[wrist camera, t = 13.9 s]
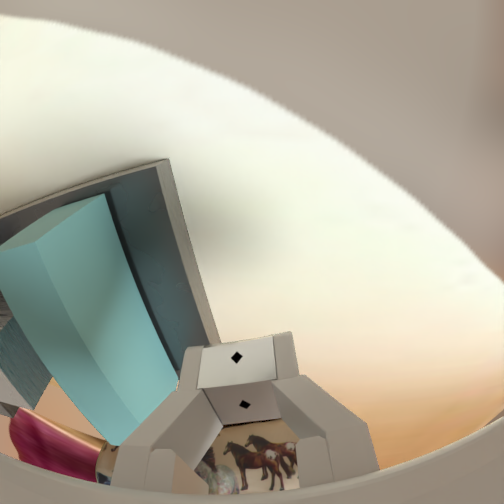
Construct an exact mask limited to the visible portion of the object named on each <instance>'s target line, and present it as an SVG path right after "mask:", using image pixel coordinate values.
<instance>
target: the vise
mask: <svg viewBox="0 0 504 504" xmlns="http://www.w3.org/2000/svg"><path fill="white" fill-rule="evenodd" d="M101 194H105V197H106V201H107V204H108V207H109V210H110V213H111V217H112V220H113V223H114V226H115V229H116V232H117V235H118V238H119V240H120V243H121V246H122V249H123V252H124V254H125V257H126V260H127V263H128V265H129V268H130V271H131V273H132V276H133V278H134V281H135V283H136V286H137V288H138V291H139V293H140V296H141V298H142V301H143V303H144V305H145V308H146V310H147V312H148V315H149V317H150V319H151V321H152V324H153V326H154V328H155V330H156V333H157V335H158V337H159V339H160V341H161V343H162V346H163V348H164V350H165V352H166V354H167V356H168V358H169V360H170V362H171V364H172V366H173V368H174V370H175V372H176V374H177V376H178V380H179V379H180V374H181V369H182V364H183V359H184V354H185V351H186V349H187V348H188V347H194V346H204V345H210V344H219V343H221V340H220V337H219V334H218V331H217V328H216V325H215V322H214V319H213V316H212V312H211V309H210V306H209V303H208V300H207V296H206V293H205V290H204V286H203V283H202V280H201V276H200V273H199V270H198V266H197V263H196V259H195V256H194V252H193V249H192V245H191V242H190V238H189V235H188V231H187V227H186V224H185V220H184V216H183V212H182V209H181V205H180V201H179V197H178V193H177V189H176V185H175V181H174V177H173V173H172V169H171V165H170V161H169V159H165V160H161V161H157V162H154V163H150V164H146V165H142V166H139V167H135V168H132V169H128V170H125V171H121V172H118V173H115V174H111V175H108V176H105V177H102V178H98V179H95V180H92V181H89V182H86V183H83V184H80V185H77V186H74V187H71V188H69V189H66V190H63V191H60V192H57V193H55V194H52V195H49V196H47V197H44V198H42V199H39V200H36V201H34V202H31V203H29V204H26V205H24V206H21V207H19V208H17V209H14V210H12V211H10V212H7V213H5V214H3V215H0V246H1V245H2V244H3V243H5V242H6V241H7V240H9V239H10V238H12V237H13V236H14V235H16V234H17V233H19V232H20V231H22V230H23V229H25V228H26V227H28V226H29V225H31V224H32V223H34V222H35V221H37V220H38V219H40V218H41V217H43V216H44V215H46V214H47V213H49V212H51V211H52V210H54V209H56V208H59V207H62V206H65V205H68V204H71V203H74V202H78V201H81V200H84V199H87V198H91V197H94V196H97V195H101ZM52 377H53V376H52ZM18 408H19V407H18V406H15V405H11V404H7V403H4V402H0V414H2V415H5V416H8V417H11V418H13V417H14V416H15V414H16V412H17V410H18Z"/></svg>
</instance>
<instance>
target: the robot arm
mask: <svg viewBox="0 0 504 504" xmlns="http://www.w3.org/2000/svg"><path fill="white" fill-rule="evenodd" d="M278 418H282V420H283V421H284V422H285V423H286V424H287V425H288V427H289V428H290V429H291V430H292V431H293V432H294V433H295V434H296V435H297V437H298V438H299V439H300V440H299V441H298V443H297V444H296V455H297V465H298V475H299V486H300V488H297V489H290V490H282V491H273V492H263V493H249V494H227V495H208V492H209V485H208V484H207V483H206V482H205V481H204V480H203V479H202V478H201V477H199V476H198V475H197V474H196V473H195V472H194V469H195V468H196V466H197V465H198V464H199V462H200V461H201V459H202V458H203V456H204V455H205V453H206V452H207V450H208V449H209V447H210V446H211V444H212V443H213V441H214V440H215V438H216V437H217V435H218V434H219V432H220V431H221V429H222V428H223V425H226V424H235V423H243V422H251V421H261V420H270V419H278ZM0 504H504V416H503V417H501V418H500V419H498V420H496V421H494V422H493V423H491V424H489V425H487V426H485V427H484V428H482V429H480V430H478V431H476V432H474V433H472V434H470V435H468V436H466V437H464V438H462V439H460V440H458V441H456V442H454V443H451V444H449V445H447V446H445V447H442V448H440V449H438V450H435V451H433V452H430V453H428V454H425V455H423V456H420V457H418V458H415V459H412V460H410V461H407V462H404V463H401V464H398V465H395V466H392V467H389V468H386V469H382V470H380V469H379V465H378V461H377V458H376V454H375V451H374V447H373V444H372V440H371V437H370V433H369V430H368V426H367V423H365V422H364V421H363V420H361V419H360V418H359V417H357V416H356V415H355V414H354V413H352V412H351V411H350V410H348V409H347V408H346V407H345V406H343V405H342V404H341V403H339V402H338V401H337V400H336V399H334V398H333V397H332V396H331V395H329V394H328V393H327V392H326V391H324V390H323V389H322V388H321V387H320V386H318V385H317V384H316V383H315V382H313V381H312V380H311V379H310V378H309V377H307V376H306V375H299V370H298V364H297V358H296V353H295V347H294V342H293V336H292V332H291V331H289V332H284V333H279V334H274V335H270V336H264V337H259V338H253V339H247V340H241V341H235V342H227V343H219V344H210V345H204V346H194V347H188V348H187V349H186V351H185V354H184V359H183V364H182V369H181V374H180V379H179V385H178V390H177V391H172V392H171V393H170V394H169V395H168V397H167V398H166V399H165V400H164V401H163V402H162V403H161V404H160V405H159V406H158V407H157V408H156V409H155V410H154V411H153V412H152V413H151V414H150V415H149V416H148V417H147V418H146V419H145V420H144V421H143V422H142V423H141V424H140V425H139V426H138V427H137V428H136V429H135V430H134V431H133V432H132V433H131V434H130V435H129V436H128V437H127V438H126V439H125V440H124V441H123V442H122V443H121V444H120V447H119V451H118V455H117V459H116V463H115V467H114V471H113V475H112V479H111V484H110V485H105V484H100V483H95V482H90V481H86V480H81V479H77V478H73V477H70V476H66V475H62V474H59V473H55V472H52V471H49V470H46V469H42V468H39V467H36V466H33V465H31V464H28V463H25V462H22V461H20V460H17V459H14V458H12V457H9V456H7V455H5V454H2V453H0Z"/></svg>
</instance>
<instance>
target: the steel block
mask: <svg viewBox="0 0 504 504" xmlns="http://www.w3.org/2000/svg"><path fill="white" fill-rule="evenodd" d="M51 378H52V375H51V373H50V372H49V370H48V369H47V368H46V366H45V365H44V363H43V362H42V360H41V359H40V357H39V356H38V354H37V353H36V351H35V350H34V348H33V347H32V345H31V344H30V342H29V340H28V339H27V337H26V336H25V334H24V332H23V331H22V329H21V327H20V325H19V324H18V322H17V320H16V318H15V317H14V315H13V313H12V311H11V309H10V308H9V306H8V304H7V302H6V300H5V298H4V296H3V294H2V292H1V290H0V402H4V403H7V404H11V405H15V406H18V407H22V408H26V409H30V410H34V409H35V407H36V405H37V403H38V401H39V399H40V397H41V396H42V394H43V392H44V390H45V389H46V387H47V385H48V383H49V382H50V380H51Z"/></svg>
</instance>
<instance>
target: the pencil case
mask: <svg viewBox="0 0 504 504" xmlns="http://www.w3.org/2000/svg"><path fill="white" fill-rule="evenodd" d="M299 440H300V439H299V438H298V437H297V435H296V434H295V433H294V432H293V431H292V430H291V429H290V428H289V427H288V425H287V424H286V423H285V422H284V421H283V420H282V419H278V420H272V421H267V422H257V423H250V424H246V425H240V426H233V427H223V428H222V429H221V431H220V432H219V434H218V435H217V437H216V438H215V440H214V441H213V443H212V444H211V446H210V447H209V449H208V450H207V452H206V453H205V455H204V456H203V458H202V459H201V461H200V462H199V464H198V465H197V466H196V468H195V469H194V472H195V473H196V474H197V475H198V476H199V477H201V478H202V479H203V480H204V481H205V482H206V483H207V484H208V485H209V492H208V495H227V494H249V493H263V492H273V491H282V490H290V489H297V488H300V486H299V475H298V465H297V455H296V444H297V443H298V441H299ZM119 447H120V446H116V445H111V444H110V443H109V442H108V441H106V442H105V444H104V445H103V447H102V449H101V451H100V453H99V456H98V459H97V463H96V479H97V483H100V484H105V485H110V484H111V479H112V475H113V471H114V467H115V463H116V459H117V455H118V451H119Z"/></svg>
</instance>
